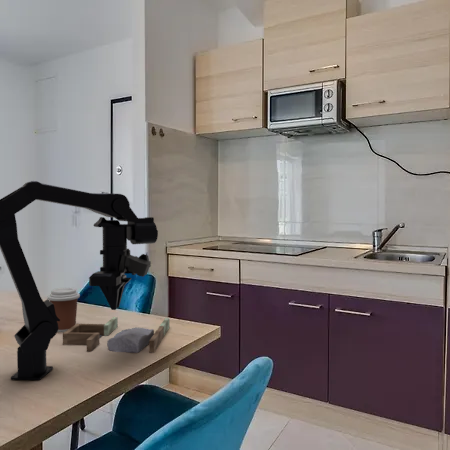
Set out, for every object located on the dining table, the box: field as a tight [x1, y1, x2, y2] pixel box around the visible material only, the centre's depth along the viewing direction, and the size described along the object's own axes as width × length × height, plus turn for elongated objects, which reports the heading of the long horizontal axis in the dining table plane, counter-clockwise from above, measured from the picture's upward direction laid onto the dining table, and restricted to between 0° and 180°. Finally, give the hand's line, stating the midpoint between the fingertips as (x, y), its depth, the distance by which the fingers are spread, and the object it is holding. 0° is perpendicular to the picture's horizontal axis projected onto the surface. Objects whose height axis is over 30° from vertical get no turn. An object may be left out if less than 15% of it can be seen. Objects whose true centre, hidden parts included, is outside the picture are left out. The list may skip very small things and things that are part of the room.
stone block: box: [106, 327, 155, 354], centre depth 110 cm, size 12×5×10 cm
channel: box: [62, 316, 170, 353], centre depth 115 cm, size 22×26×3 cm
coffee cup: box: [47, 287, 81, 333], centre depth 124 cm, size 9×9×12 cm
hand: (115, 308), depth 100 cm, fingers closed
